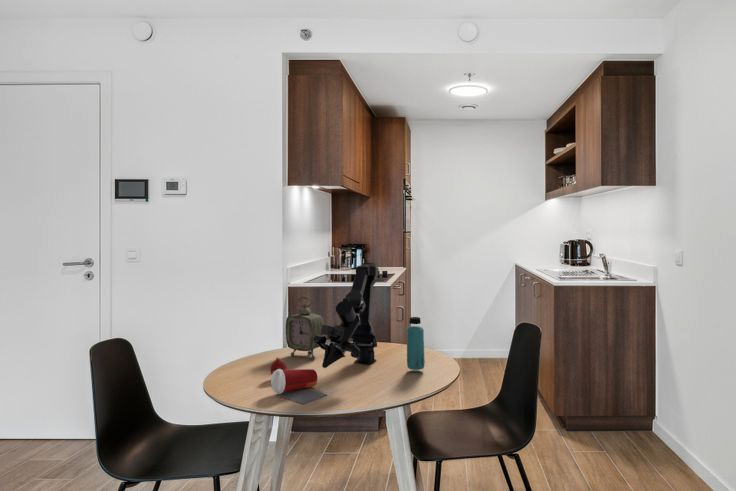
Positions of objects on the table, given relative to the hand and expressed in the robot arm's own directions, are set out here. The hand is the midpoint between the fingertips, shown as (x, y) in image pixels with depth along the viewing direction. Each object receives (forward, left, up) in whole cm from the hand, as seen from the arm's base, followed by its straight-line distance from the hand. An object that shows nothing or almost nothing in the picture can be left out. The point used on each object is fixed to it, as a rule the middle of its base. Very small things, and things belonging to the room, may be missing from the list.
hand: (323, 367), depth 157 cm
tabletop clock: (-34, +21, -7) cm, 41 cm away
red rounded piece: (-19, -5, -7) cm, 20 cm away
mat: (0, -10, -7) cm, 12 cm away
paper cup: (-3, -2, -4) cm, 5 cm away
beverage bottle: (+14, +32, -7) cm, 36 cm away
